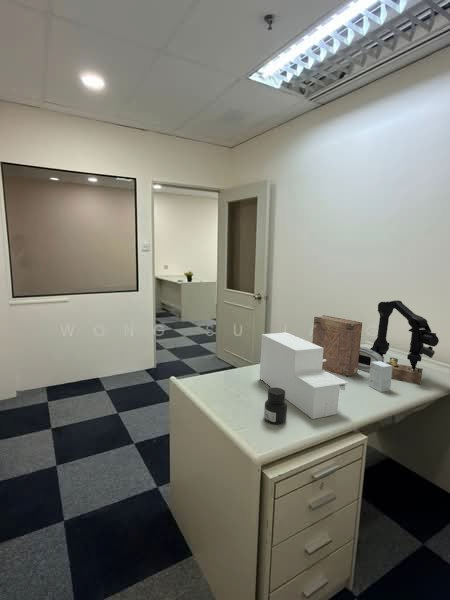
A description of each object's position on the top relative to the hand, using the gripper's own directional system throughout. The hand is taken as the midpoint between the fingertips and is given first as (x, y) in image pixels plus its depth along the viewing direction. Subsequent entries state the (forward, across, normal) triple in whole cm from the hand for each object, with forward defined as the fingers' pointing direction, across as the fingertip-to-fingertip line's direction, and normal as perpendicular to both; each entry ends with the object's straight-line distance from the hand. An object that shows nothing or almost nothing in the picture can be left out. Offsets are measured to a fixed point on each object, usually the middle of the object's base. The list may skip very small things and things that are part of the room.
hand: (413, 369), depth 174 cm
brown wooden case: (+6, -10, +40) cm, 42 cm away
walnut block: (+6, 0, +5) cm, 8 cm away
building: (+7, -57, +43) cm, 72 cm away
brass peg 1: (+2, 0, +10) cm, 10 cm away
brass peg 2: (+6, 0, 0) cm, 6 cm away
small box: (+6, -24, +13) cm, 28 cm away
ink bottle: (+6, -85, +42) cm, 95 cm away
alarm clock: (+7, +2, +27) cm, 28 cm away
